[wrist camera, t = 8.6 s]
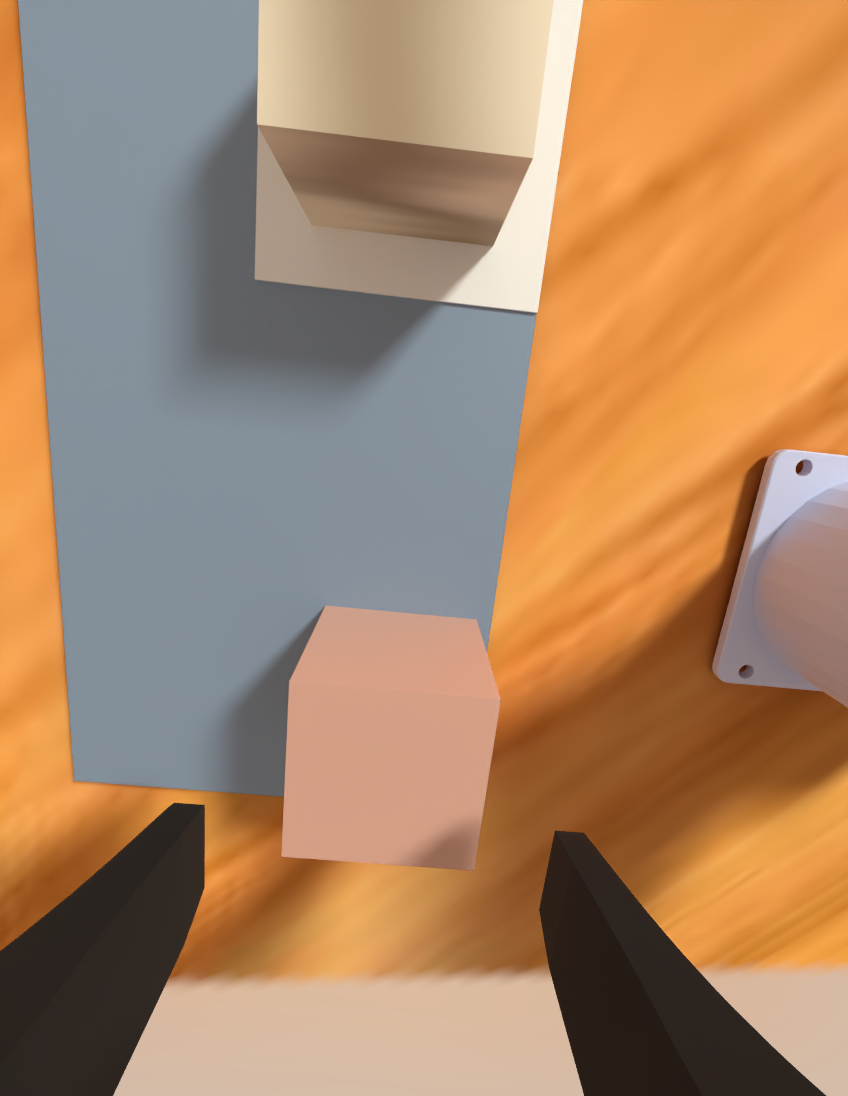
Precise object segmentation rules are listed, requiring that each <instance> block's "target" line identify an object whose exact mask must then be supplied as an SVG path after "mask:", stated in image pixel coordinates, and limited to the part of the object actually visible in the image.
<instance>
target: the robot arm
mask: <svg viewBox="0 0 848 1096" xmlns="http://www.w3.org/2000/svg"><path fill="white" fill-rule="evenodd" d="M801 460H802V462H803V469H802V470H801V472H800V473H798V474H797V473H796V466H797V464H798V462H800V461H801ZM744 665H747V667H746V669H745V670H744V671H743V672H741V673H739V670H740V668H741V667H742V666H744ZM712 670H713V673H714V674H715V675H716V676H717V677H718V678H719V679H720V680H722V681H723V682H726V683H735V684H746V685H757V686H769V687H780V688H791V689H802V690H814V691H823V692H824V693H826V694H827V695H829V696H830V697H832V698H833V699H835V700H836V701H838V702H839V703H841V704H842V705H844V706H845V707H847V708H848V456H845V455H835V454H826V453H817V452H808V451H799V450H789V449H782V450H778V451H776V452H774V453H772V454H771V455H770V456H769V457H768V460H767V462H766V464H765V468H764V472H763V475H762V479H761V483H760V487H759V490H758V494H757V498H756V502H755V506H754V509H753V513H752V517H751V521H750V524H749V528H748V532H747V536H746V540H745V543H744V547H743V551H742V555H741V558H740V562H739V566H738V570H737V573H736V577H735V581H734V585H733V589H732V592H731V596H730V600H729V604H728V607H727V611H726V615H725V619H724V623H723V626H722V630H721V634H720V638H719V641H718V645H717V649H716V653H715V657H714V660H713V664H712ZM204 852H205V805H196V804H182V803H173V804H172V805H171V806H169V807H168V808H167V809H166V810H165V811H164V812H163V813H162V814H160V815H159V816H158V817H157V818H156V819H155V820H154V821H153V822H152V823H151V824H150V825H148V826H147V827H146V828H145V829H144V830H143V831H142V832H141V833H140V834H139V835H138V836H136V837H135V838H134V839H133V840H132V841H131V842H130V843H129V844H128V845H127V846H125V847H124V848H123V849H122V850H121V851H120V852H119V853H118V854H117V855H115V856H114V857H113V858H112V859H111V860H110V861H109V862H108V863H106V864H105V865H104V866H103V867H102V868H101V869H100V870H98V871H97V872H96V873H95V874H94V875H93V876H92V877H90V878H89V879H88V880H87V881H86V882H85V883H83V884H82V885H81V886H80V887H79V888H78V889H77V890H75V891H74V892H73V893H72V894H71V895H70V896H68V897H67V898H66V899H65V900H64V901H62V902H61V903H60V904H59V905H57V906H56V907H55V908H54V909H52V910H51V911H50V912H49V913H48V914H46V915H45V916H44V917H43V918H41V919H40V920H39V921H38V922H36V923H35V924H34V925H33V926H31V927H30V928H29V929H28V930H27V931H25V932H24V933H23V934H22V935H20V936H19V937H18V938H17V939H15V940H14V941H13V942H11V943H10V944H9V945H8V946H6V947H5V948H4V949H2V950H1V951H0V1096H113V1094H114V1092H115V1090H116V1088H117V1086H118V1084H119V1082H120V1079H121V1077H122V1075H123V1073H124V1071H125V1069H126V1067H127V1065H128V1063H129V1061H130V1058H131V1056H132V1054H133V1052H134V1050H135V1048H136V1046H137V1044H138V1041H139V1039H140V1037H141V1035H142V1033H143V1031H144V1029H145V1027H146V1025H147V1023H148V1020H149V1018H150V1016H151V1014H152V1012H153V1010H154V1008H155V1006H156V1004H157V1002H158V999H159V997H160V995H161V993H162V991H163V989H164V987H165V985H166V982H167V980H168V978H169V976H170V974H171V972H172V970H173V967H174V965H175V963H176V961H177V959H178V957H179V954H180V952H181V950H182V948H183V946H184V943H185V940H186V938H187V935H188V932H189V929H190V927H191V924H192V921H193V919H194V916H195V913H196V910H197V907H198V904H199V901H200V898H201V896H202V893H203V890H204ZM539 910H540V916H541V922H542V929H543V935H544V941H545V947H546V952H547V958H548V963H549V969H550V972H551V976H552V980H553V984H554V988H555V991H556V995H557V999H558V1002H559V1006H560V1010H561V1013H562V1017H563V1020H564V1024H565V1028H566V1032H567V1035H568V1039H569V1042H570V1046H571V1050H572V1053H573V1056H574V1060H575V1064H576V1068H577V1071H578V1075H579V1078H580V1082H581V1086H582V1089H583V1093H584V1096H826V1095H824V1094H823V1092H821V1091H820V1090H819V1089H818V1088H817V1087H816V1086H815V1085H813V1084H812V1083H811V1082H810V1081H809V1080H808V1079H807V1078H806V1077H805V1076H803V1075H802V1074H801V1073H800V1072H799V1071H798V1070H797V1069H796V1068H795V1067H794V1066H793V1065H791V1064H790V1063H789V1062H788V1061H787V1060H786V1059H785V1058H784V1057H783V1056H782V1055H781V1054H780V1053H778V1051H777V1050H775V1049H774V1048H773V1047H772V1046H771V1045H770V1044H769V1043H768V1042H767V1041H766V1040H765V1039H764V1038H763V1037H762V1036H761V1035H760V1034H759V1033H758V1032H757V1031H756V1030H755V1029H754V1028H753V1027H752V1026H751V1025H750V1024H749V1023H748V1022H747V1021H746V1020H745V1019H744V1018H743V1017H742V1016H741V1015H740V1014H739V1013H738V1012H737V1011H736V1010H734V1008H733V1007H732V1006H731V1005H730V1004H729V1003H728V1002H727V1001H726V1000H725V999H724V998H723V997H722V996H721V995H720V994H719V993H718V992H717V991H716V990H715V988H714V987H713V986H712V985H711V984H710V983H709V982H708V981H707V980H706V979H705V978H704V977H703V975H702V974H701V973H700V972H699V971H698V970H697V969H696V968H695V967H694V966H693V964H692V963H691V962H690V961H689V960H688V959H687V958H686V957H685V956H684V955H683V954H682V952H681V951H680V950H679V949H678V948H677V947H676V946H675V944H674V943H673V942H672V941H671V940H670V939H669V938H668V936H667V935H666V934H665V933H664V932H663V930H662V929H661V928H660V927H659V926H658V924H657V923H656V922H655V921H654V920H653V918H652V917H651V916H650V915H649V914H648V913H647V911H646V910H645V909H644V908H643V906H642V905H641V904H640V903H639V902H638V900H637V899H636V898H635V897H634V895H633V894H632V893H631V892H630V890H629V889H628V888H627V887H626V885H625V884H624V883H623V882H622V880H621V879H620V878H619V877H618V875H617V874H616V873H615V872H614V870H613V869H612V868H611V867H610V865H609V864H608V863H607V861H606V860H605V859H604V858H603V856H602V855H601V854H600V853H599V851H598V850H597V849H596V847H595V846H594V845H593V844H592V842H591V841H590V840H589V839H588V837H587V836H586V835H585V834H584V833H578V832H564V831H555V834H554V839H553V844H552V849H551V854H550V859H549V864H548V869H547V874H546V879H545V884H544V889H543V894H542V899H541V904H540V909H539Z"/></svg>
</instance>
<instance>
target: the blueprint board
mask: <svg viewBox="0 0 848 1096" xmlns="http://www.w3.org/2000/svg"><path fill="white" fill-rule="evenodd" d="M18 5H19V19H20V33H21V46H22V60H23V74H24V88H25V102H26V116H27V130H28V144H29V158H30V172H31V186H32V199H33V213H34V227H35V241H36V255H37V269H38V283H39V297H40V311H41V325H42V338H43V352H44V366H45V380H46V394H47V408H48V422H49V436H50V450H51V464H52V478H53V491H54V505H55V519H56V533H57V547H58V561H59V575H60V589H61V603H62V617H63V631H64V644H65V658H66V672H67V686H68V700H69V714H70V728H71V742H72V756H73V770H74V781H85V782H98V783H111V784H124V785H137V786H150V787H163V788H176V789H189V790H202V791H215V792H228V793H241V794H254V795H267V796H281V797H284V787H285V765H286V742H287V720H288V698H289V681H290V679H291V677H292V675H293V673H294V671H295V668H296V666H297V664H298V662H299V660H300V658H301V656H302V654H303V652H304V650H305V647H306V645H307V643H308V641H309V639H310V637H311V635H312V633H313V631H314V629H315V627H316V624H317V622H318V620H319V618H320V616H321V614H322V612H323V610H324V608H325V606H336V607H347V608H358V609H368V610H379V611H390V612H401V613H412V614H423V615H433V616H444V617H455V618H466V619H477V622H478V626H479V629H480V632H481V636H482V639H483V642H484V646H485V649H486V652H487V648H488V641H489V635H490V628H491V621H492V614H493V607H494V601H495V594H496V587H497V580H498V573H499V566H500V560H501V553H502V546H503V539H504V532H505V526H506V519H507V512H508V505H509V498H510V491H511V485H512V478H513V471H514V464H515V457H516V450H517V444H518V437H519V430H520V423H521V416H522V410H523V403H524V396H525V389H526V382H527V375H528V369H529V362H530V355H531V348H532V341H533V334H534V328H535V321H536V314H537V312H538V305H539V298H540V292H541V285H542V278H543V271H544V264H545V257H546V251H547V244H548V237H549V230H550V223H551V217H552V210H553V203H554V196H555V189H556V183H557V176H558V169H559V162H560V155H561V149H562V142H563V135H564V128H565V121H566V115H567V108H568V101H569V94H570V87H571V80H572V74H573V67H574V60H575V53H576V46H577V40H578V33H579V26H580V19H581V12H582V6H583V0H554V2H553V9H552V17H551V25H550V32H549V40H548V48H547V55H546V63H545V71H544V78H543V86H542V94H541V102H540V109H539V117H538V125H537V132H536V140H535V148H534V155H533V160H532V162H531V164H530V166H529V168H528V171H527V173H526V175H525V177H524V179H523V182H522V184H521V186H520V188H519V190H518V193H517V195H516V197H515V199H514V201H513V204H512V206H511V208H510V210H509V212H508V215H507V217H506V219H505V221H504V223H503V226H502V228H501V230H500V232H499V234H498V237H497V239H496V241H495V243H494V245H493V246H486V245H478V244H469V243H460V242H452V241H443V240H434V239H426V238H417V237H408V236H400V235H391V234H382V233H374V232H365V231H356V230H348V229H339V228H330V227H322V226H313V225H311V223H310V221H309V219H308V218H307V216H306V214H305V212H304V210H303V208H302V207H301V205H300V203H299V201H298V199H297V197H296V195H295V194H294V192H293V190H292V188H291V186H290V184H289V183H288V181H287V179H286V177H285V175H284V173H283V171H282V170H281V168H280V166H279V164H278V162H277V160H276V159H275V157H274V155H273V153H272V151H271V149H270V147H269V146H268V144H267V142H266V140H265V138H264V136H263V135H262V133H261V131H260V129H259V127H258V125H257V91H258V29H259V0H18Z"/></svg>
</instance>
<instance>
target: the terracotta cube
mask: <svg viewBox="0 0 848 1096" xmlns="http://www.w3.org/2000/svg"><path fill="white" fill-rule="evenodd" d="M500 702H501V699H500V695H499V692H498V689H497V685H496V682H495V679H494V675H493V672H492V669H491V665H490V662H489V659H488V656H487V652H486V649H485V646H484V642H483V639H482V636H481V632H480V629H479V626H478V622H477V619H466V618H455V617H444V616H433V615H423V614H412V613H401V612H390V611H379V610H368V609H358V608H347V607H336V606H325V608H324V610H323V612H322V614H321V616H320V618H319V620H318V622H317V624H316V627H315V629H314V631H313V633H312V635H311V637H310V639H309V641H308V643H307V645H306V647H305V650H304V652H303V654H302V656H301V658H300V660H299V662H298V664H297V666H296V668H295V671H294V673H293V675H292V677H291V679H290V681H289V698H288V720H287V742H286V765H285V787H284V809H283V832H282V854H281V857H292V858H306V859H320V860H334V861H348V862H361V863H375V864H389V865H403V866H417V867H431V868H445V869H459V870H473V871H474V867H475V861H476V854H477V848H478V842H479V835H480V829H481V823H482V816H483V810H484V804H485V797H486V791H487V785H488V778H489V772H490V765H491V759H492V753H493V746H494V740H495V734H496V727H497V721H498V715H499V708H500Z"/></svg>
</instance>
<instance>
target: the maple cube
mask: <svg viewBox="0 0 848 1096" xmlns="http://www.w3.org/2000/svg"><path fill="white" fill-rule="evenodd" d="M553 2H554V0H259V29H258V91H257V125H258V127H259V129H260V131H261V133H262V135H263V136H264V138H265V140H266V142H267V144H268V146H269V147H270V149H271V151H272V153H273V155H274V157H275V159H276V160H277V162H278V164H279V166H280V168H281V170H282V171H283V173H284V175H285V177H286V179H287V181H288V183H289V184H290V186H291V188H292V190H293V192H294V194H295V195H296V197H297V199H298V201H299V203H300V205H301V207H302V208H303V210H304V212H305V214H306V216H307V218H308V219H309V221H310V223H311V225H313V226H322V227H330V228H339V229H348V230H356V231H365V232H374V233H382V234H391V235H400V236H408V237H417V238H426V239H434V240H443V241H452V242H460V243H469V244H478V245H486V246H493V245H494V243H495V241H496V239H497V237H498V234H499V232H500V230H501V228H502V226H503V223H504V221H505V219H506V217H507V215H508V212H509V210H510V208H511V206H512V204H513V201H514V199H515V197H516V195H517V193H518V190H519V188H520V186H521V184H522V182H523V179H524V177H525V175H526V173H527V171H528V168H529V166H530V164H531V162H532V160H533V155H534V148H535V140H536V132H537V125H538V117H539V109H540V102H541V94H542V86H543V78H544V71H545V63H546V55H547V48H548V40H549V32H550V25H551V17H552V9H553Z"/></svg>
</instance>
